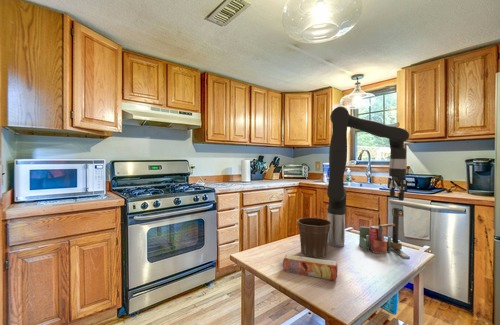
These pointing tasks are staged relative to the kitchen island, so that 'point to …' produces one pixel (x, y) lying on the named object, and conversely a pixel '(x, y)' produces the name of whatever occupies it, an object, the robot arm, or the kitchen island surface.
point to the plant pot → (314, 236)
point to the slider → (381, 245)
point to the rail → (400, 253)
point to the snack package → (311, 267)
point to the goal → (365, 239)
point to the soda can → (374, 235)
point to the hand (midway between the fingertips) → (396, 198)
